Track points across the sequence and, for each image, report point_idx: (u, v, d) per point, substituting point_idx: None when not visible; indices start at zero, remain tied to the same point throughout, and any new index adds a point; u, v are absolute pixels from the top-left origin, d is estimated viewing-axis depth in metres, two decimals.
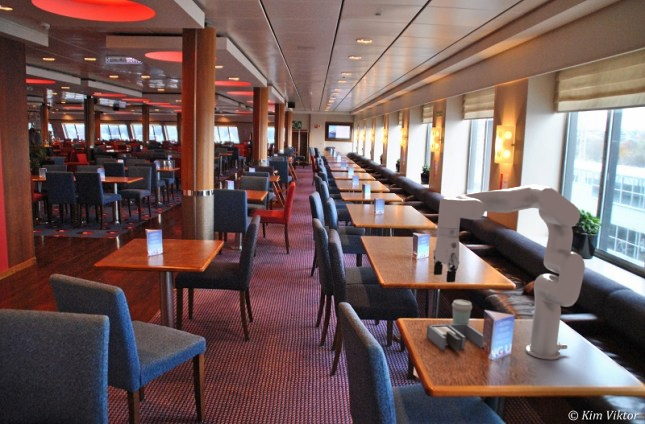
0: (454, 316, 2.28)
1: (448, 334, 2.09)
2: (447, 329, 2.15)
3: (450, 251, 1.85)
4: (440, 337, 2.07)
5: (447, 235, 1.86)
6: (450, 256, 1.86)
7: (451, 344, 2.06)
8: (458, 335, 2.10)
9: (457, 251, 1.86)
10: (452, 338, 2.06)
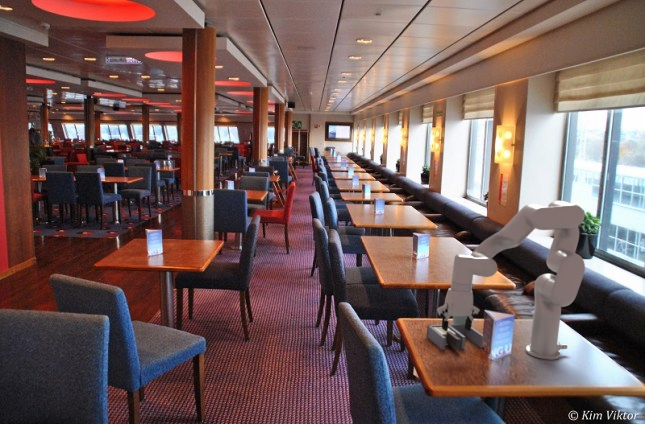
0: (454, 316, 2.28)
1: (448, 334, 2.09)
2: None
3: None
4: (440, 337, 2.07)
5: (471, 289, 2.00)
6: None
7: (451, 344, 2.06)
8: (458, 335, 2.10)
9: None
10: (452, 338, 2.06)
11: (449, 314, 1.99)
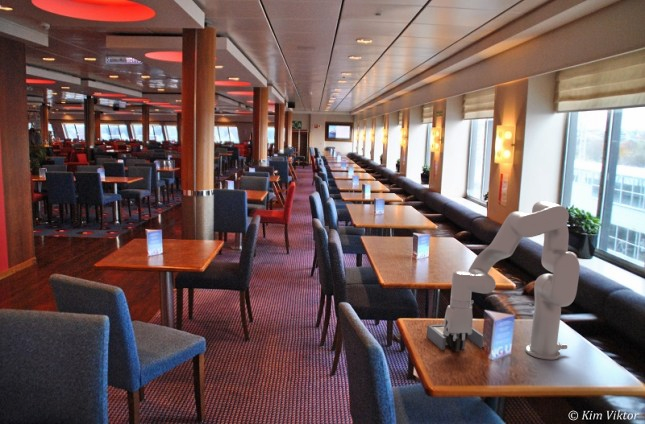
0: None
1: None
2: None
3: None
4: (440, 337, 2.07)
5: None
6: None
7: None
8: (458, 335, 2.10)
9: None
10: None
11: (449, 331, 2.00)
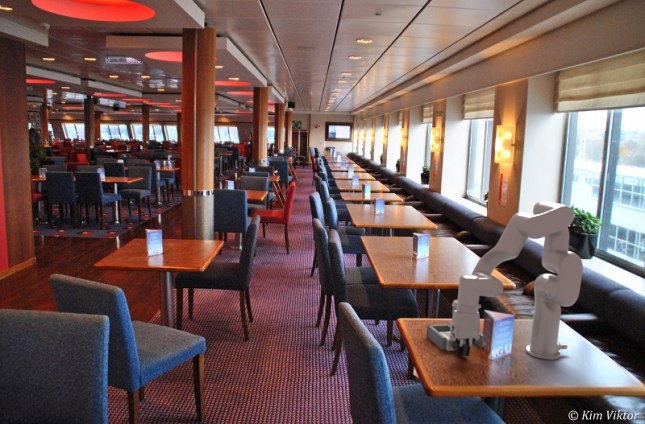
0: None
1: None
2: None
3: None
4: (440, 337, 2.07)
5: (477, 311, 1.96)
6: None
7: None
8: None
9: None
10: None
11: (456, 336, 1.95)
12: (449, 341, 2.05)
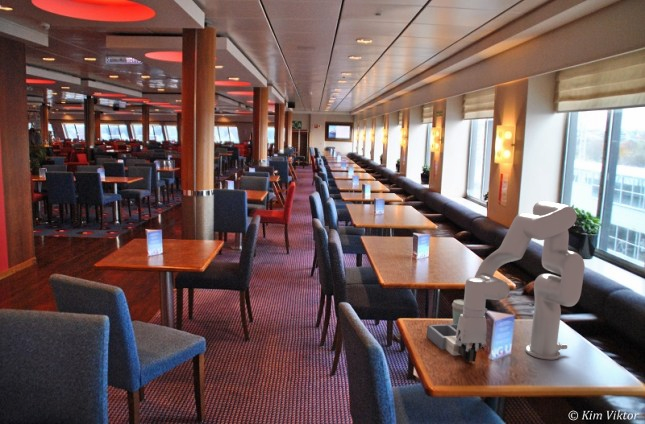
0: (454, 316, 2.28)
1: None
2: None
3: None
4: (440, 337, 2.07)
5: None
6: None
7: None
8: None
9: None
10: None
11: (462, 341, 1.91)
12: (455, 346, 2.00)
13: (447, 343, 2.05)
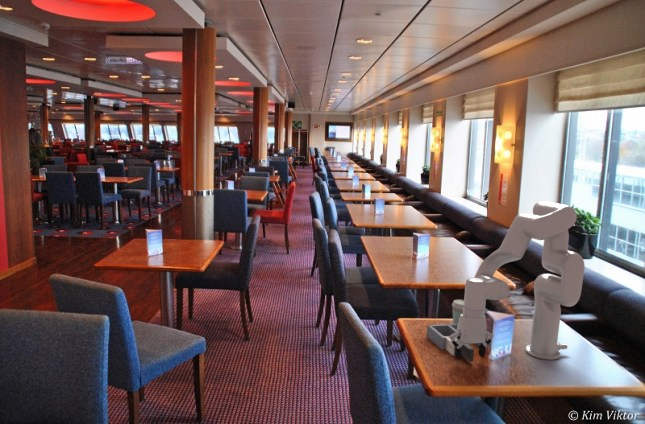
0: (454, 316, 2.28)
1: None
2: None
3: None
4: (440, 337, 2.07)
5: None
6: None
7: (464, 355, 1.97)
8: None
9: None
10: (464, 348, 1.96)
11: (462, 341, 1.91)
12: None
13: (447, 343, 2.05)
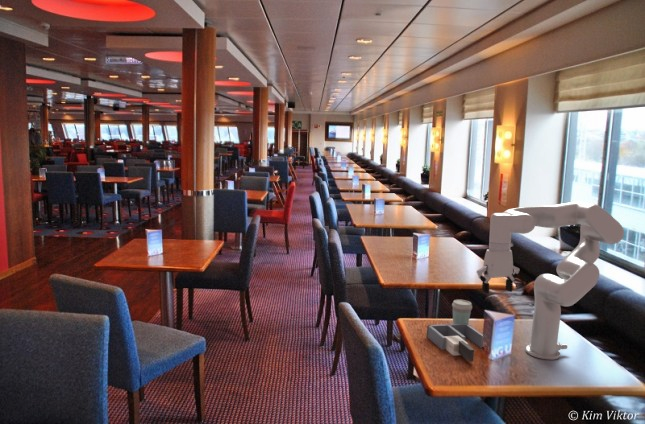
0: (454, 316, 2.28)
1: (460, 344, 1.99)
2: (459, 338, 2.06)
3: None
4: (440, 337, 2.07)
5: None
6: None
7: (464, 355, 1.97)
8: (458, 335, 2.10)
9: None
10: (464, 348, 1.96)
11: (489, 276, 1.93)
12: (455, 346, 2.00)
13: (447, 343, 2.05)
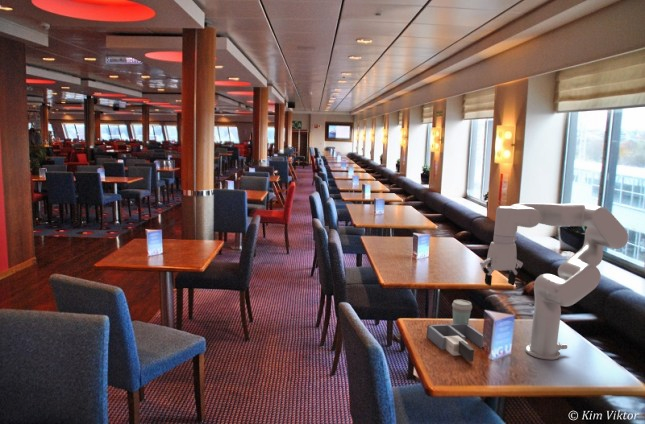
0: (454, 316, 2.28)
1: (460, 344, 1.99)
2: (459, 338, 2.06)
3: None
4: (440, 337, 2.07)
5: (514, 242, 1.94)
6: None
7: (464, 355, 1.97)
8: (458, 335, 2.10)
9: None
10: (464, 348, 1.96)
11: (493, 268, 1.94)
12: (455, 346, 2.00)
13: (447, 343, 2.05)
